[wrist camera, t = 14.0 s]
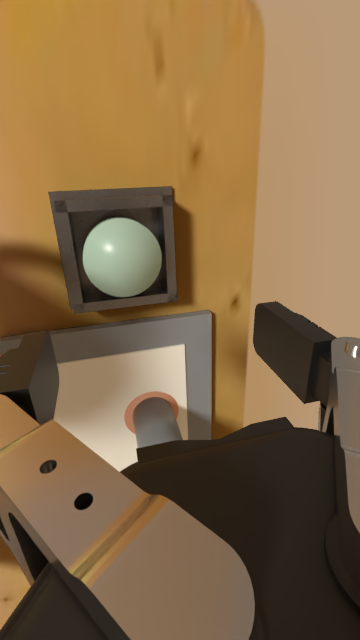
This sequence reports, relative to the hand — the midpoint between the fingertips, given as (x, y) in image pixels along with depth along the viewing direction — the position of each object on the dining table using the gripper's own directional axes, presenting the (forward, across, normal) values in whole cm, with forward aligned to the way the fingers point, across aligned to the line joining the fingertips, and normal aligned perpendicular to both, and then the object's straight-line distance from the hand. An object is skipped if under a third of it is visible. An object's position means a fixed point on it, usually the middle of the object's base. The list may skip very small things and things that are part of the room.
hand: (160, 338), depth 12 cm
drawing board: (+18, +2, +20) cm, 27 cm away
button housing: (+18, 0, 0) cm, 18 cm away
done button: (+16, 0, 0) cm, 16 cm away
